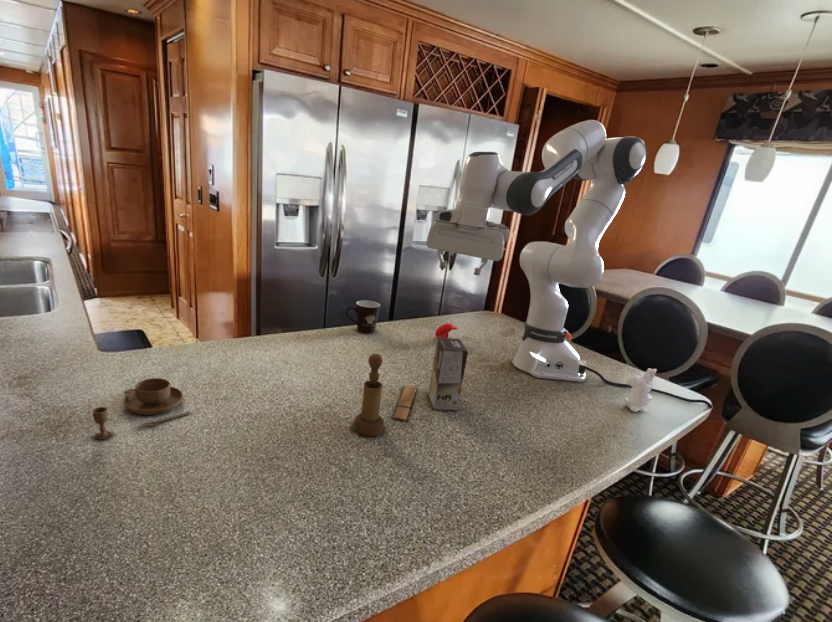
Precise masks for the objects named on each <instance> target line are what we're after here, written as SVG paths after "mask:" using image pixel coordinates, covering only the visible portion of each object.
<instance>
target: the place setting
mask: <svg viewBox="0 0 832 622" xmlns="http://www.w3.org/2000/svg"><path fill="white" fill-rule="evenodd" d="M123 393H124V394H127V395H125V397H124V398H123V405H124V407H125V408H126V409H127V411H130V412H131V413H133V414H137V415H145V416H153V415H160V414H164V413H167V412H169V411H171V410H174V409H176V408H177V407H178V406H179V405H180V404H181V403H182V402H183V398H184V394H183V391H182V390H181V389H180V388H177V387H174V386H171V383H170V381H169V380H167V379H164V378H160V377H159V378H158V377H155V378H153V377H152V378H147V379H143V380H141V381H139V382H137V383H136V384H135V386H134V388H129V389H126V390H124V391H123ZM187 415H189V412H186V413H185V412H184V413H182V414H177V415H175V416H174V415H173V416H171V417H167V418H164V419H160V420H157V421H153V422H152V421H151V422H144V423H143V422H142V423H140V425H142V427H145V426H146V427H154V426H157V425H158V424H159V423H161V422H166V421H170V420H173V419H176V418H180V417H183V416H187ZM92 417H93V421H94V423H95V424H97V425H99V429H98V430H99V432H98V433H97V434H95V436H94V438H95V439H96V440H97V441H105V440H109V439H110V438H112V435H113V434H112V432H110V431H106V429H107V428H106V426H105V423H107V422H108V420H109V412H108V407H105V406H98V407H95V408H93V410H92Z"/></svg>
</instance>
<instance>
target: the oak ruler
mask: <svg viewBox="0 0 832 622" xmlns="http://www.w3.org/2000/svg"><path fill="white" fill-rule="evenodd" d="M416 392H417V387H414V386H409V385H405V387H404V389H403V391H402V394H401V397H400V399H399V402H398V404H397V407H396V409H395V413H394V416H393V418H392V419H394V420H396V421H397V420H398V421H403V422H407V419H408V416H409V412H410V411H411V407H412V404H413V401H414V397H415V394H416Z"/></svg>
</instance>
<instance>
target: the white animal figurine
mask: <svg viewBox="0 0 832 622" xmlns="http://www.w3.org/2000/svg"><path fill="white" fill-rule="evenodd" d="M657 371H658V369H657V368H650V367H649V368H647V369H646V371H645V373H644V374H643V373H642V372H639V373H637V374H636V375H632V376H631V377H630V378H629V379H628V380H626V384H628V385H630V386H632V387H633V388H630V390H629V391H630V393H631V394H629V395H628V396H627V397H624V398H623V401H624V403H625V406H626V407H628V408H629V409H630V411H632V412H633V413H636V412H639V411H640V412H644V413H647V409H646V408H645V407H647V406H648V405H649V404H650V403H651V401H652V399H653V398H652V395H651V394H650V393H649V392H651V391H650V390H651V389H653V385H654V384H653V379H654V377H655V375H656V373H657Z"/></svg>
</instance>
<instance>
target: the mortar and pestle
mask: <svg viewBox="0 0 832 622" xmlns="http://www.w3.org/2000/svg"><path fill="white" fill-rule="evenodd" d="M383 360H384V359H383V357H382V355H381V354H379V353H372V354H370V356H369V357H368V360H367V361H368V365H369V367H370V372H369V373H368V378H369V380H366V381H365V382H364V383H363V394H362V404H361V412H360V413H359V414H357V415H356V416H355V417H354V422H353V430H354V432H356V433H357V434H360V435H363V436H365V437H376V436H380V435H381V434H382V433H383V432H384V427H385V426H384V425H385V420H384V418H383V417H382V416H381V415H380V408H381V407H380V406H381V399H382V391H383V384H382V382H380V381H379V379H380V377H381V376H380V373H379V369H380V368H381V366H382V365H383Z"/></svg>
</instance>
